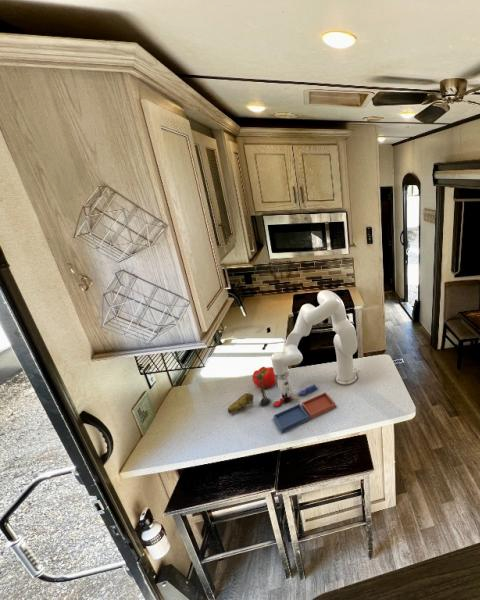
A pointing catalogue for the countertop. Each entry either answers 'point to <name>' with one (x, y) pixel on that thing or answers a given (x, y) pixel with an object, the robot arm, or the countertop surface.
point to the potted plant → (262, 390)
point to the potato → (241, 403)
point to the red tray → (318, 405)
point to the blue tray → (291, 418)
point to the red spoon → (280, 402)
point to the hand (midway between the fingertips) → (286, 400)
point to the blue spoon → (307, 390)
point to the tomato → (265, 377)
